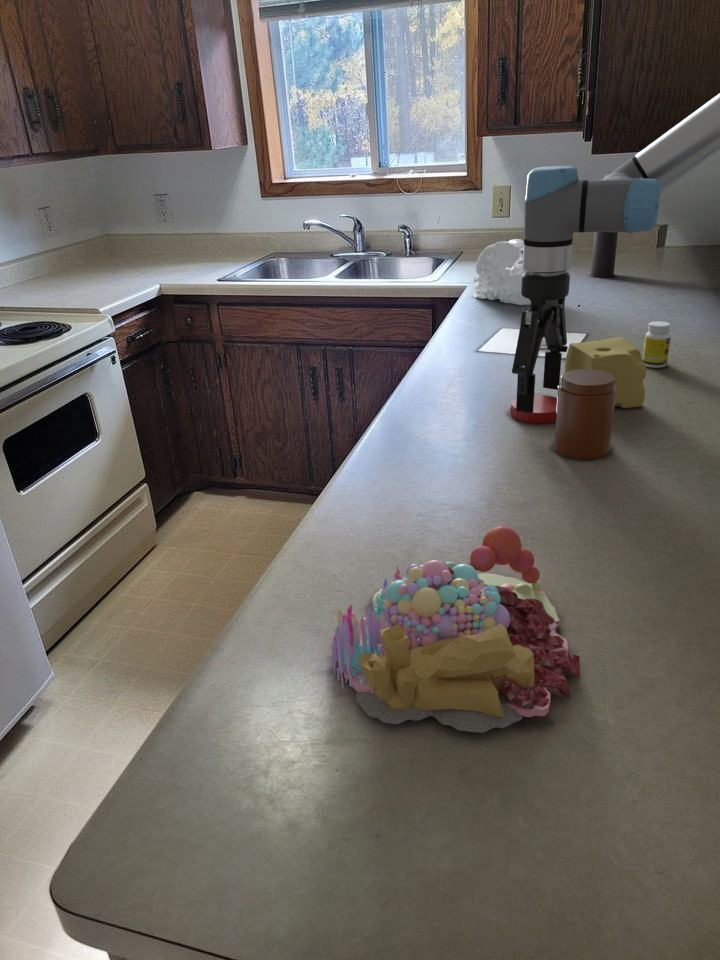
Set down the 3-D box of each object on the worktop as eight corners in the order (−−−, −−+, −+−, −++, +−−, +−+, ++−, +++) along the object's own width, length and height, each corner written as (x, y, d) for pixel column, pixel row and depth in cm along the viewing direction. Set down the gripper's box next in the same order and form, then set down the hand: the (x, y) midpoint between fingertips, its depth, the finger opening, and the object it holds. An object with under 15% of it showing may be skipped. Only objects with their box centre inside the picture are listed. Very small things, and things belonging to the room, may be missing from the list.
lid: (505, 420, 127) (505, 409, 126) (517, 402, 134) (518, 392, 133) (558, 426, 123) (559, 415, 122) (568, 407, 130) (569, 397, 130)
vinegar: (587, 276, 228) (593, 208, 219) (595, 272, 233) (600, 205, 224) (609, 278, 225) (616, 208, 216) (616, 274, 230) (623, 206, 221)
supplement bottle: (667, 369, 146) (672, 327, 143) (641, 367, 148) (646, 326, 144) (666, 361, 150) (672, 321, 147) (641, 360, 152) (646, 320, 148)
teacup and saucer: (517, 348, 164) (518, 330, 162) (526, 338, 170) (527, 321, 168) (557, 351, 160) (558, 332, 158) (564, 341, 167) (566, 323, 165)
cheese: (644, 407, 129) (651, 351, 124) (585, 413, 127) (590, 357, 123) (615, 388, 138) (621, 335, 133) (561, 394, 137) (565, 341, 132)
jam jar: (607, 438, 118) (614, 368, 112) (612, 460, 110) (620, 386, 105) (552, 436, 119) (557, 367, 114) (554, 458, 112) (559, 385, 107)
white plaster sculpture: (554, 274, 189) (492, 230, 192) (509, 337, 200) (451, 294, 203) (568, 264, 205) (510, 224, 207) (526, 323, 216) (471, 284, 218)
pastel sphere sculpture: (613, 728, 63) (625, 641, 59) (339, 755, 62) (332, 669, 58) (529, 568, 85) (534, 498, 81) (327, 586, 84) (321, 516, 80)
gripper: (549, 257, 129) (542, 375, 138) (493, 284, 111) (489, 419, 120) (592, 259, 125) (582, 381, 134) (541, 288, 107) (533, 426, 116)
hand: (538, 399), depth 127 cm, fingers open, 12 cm apart
